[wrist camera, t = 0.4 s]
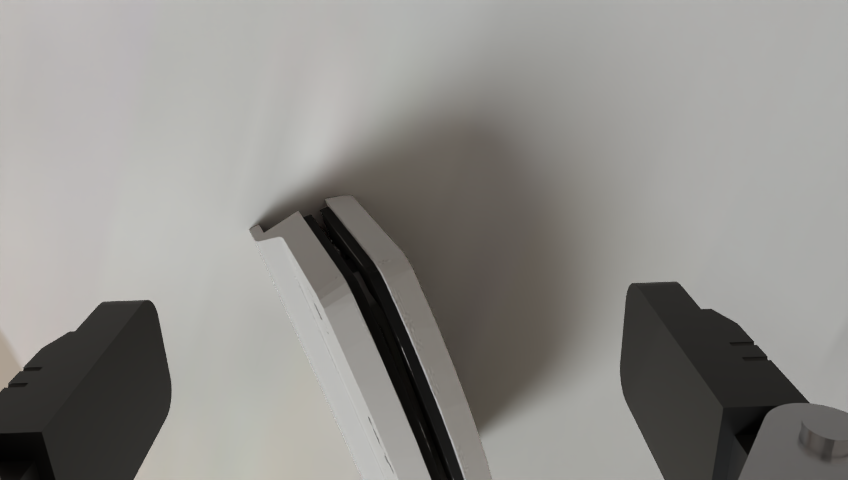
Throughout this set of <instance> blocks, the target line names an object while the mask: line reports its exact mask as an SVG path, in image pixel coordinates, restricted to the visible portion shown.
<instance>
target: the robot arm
mask: <svg viewBox="0 0 848 480" xmlns="http://www.w3.org/2000/svg"><path fill="white" fill-rule="evenodd" d="M620 377H621V385H622V390H623V394H624V397H625V400H626V403H627V405H628V407H629V409H630V411H631V413H632V415H633V417H634V419H635V421H636V423H637V425H638V427H639V429H640V431H641V433H642V435H643V437H644V439H645V441H646V443H647V445H648V447H649V449H650V451H651V453H652V455H653V457H654V459H655V461H656V463H657V465H658V467H659V469H660V471H661V473H662V475H663V477H664V479H665V480H848V413H847V412H844V411H841V410H838V409H835V408H832V407H828V406H824V405H818V404H810V403H809V402H808V401H807V400H806V398H805V397H804V396H803V395H802V394H801V393H800V392H799V391H798V390H797V389H796V387H795V386H794V385H793V384H792V383H791V382H790V381H789V380H788V379H787V378H786V376H785V375H784V374H783V373H782V372H781V371H780V370H779V369H778V368H777V367H776V365H775V364H774V363H773V362H772V361H771V360H768V359H767V356H766V354H765V353H764V352H763V351H762V350H761V349H760V348H759V347H758V346H757V345H754V341H753V340H752V339H751V338H750V337H749V336H748V335H747V334H746V332H745V331H744V330H743V329H742V328H741V327H740V326H739V325H738V324H737V323H735V322H734V321H732V320H730V319H728V318H726V317H725V316H723V315H721V314H719V313H718V312H716V311H714V310H712V309H700V307H699V306H698V305H697V304H696V303H695V301H694V300H693V299H692V298H691V297H690V296H689V294H688V293H687V292H686V291H685V290H684V288H683V287H682V286H681V285H680V284H679V283H678V282H654V283H632V284H631V285H630V286H629V288H628V291H627V295H626V304H625V316H624V327H623V338H622V349H621V361H620ZM170 403H171V379H170V373H169V368H168V363H167V358H166V353H165V348H164V343H163V338H162V333H161V328H160V323H159V318H158V314H157V310H156V308H155V306H154V304H153V303H152V302H151V301H149V300H138V301H111V302H102V303H101V304H100V305H98V307H97V308H96V309H95V310H94V311H93V312H92V313H91V314H90V315H89V317H88V318H87V319H86V320H85V321H84V322H83V323H82V324H81V325H80V326H79V328H78V329H77V330H76V331H74V332H68V333H67V334H65V335H63V336H62V337H60V338H58V339H57V340H55V341H53V342H52V343H50V344H48V345H47V346H45V347H43V348H42V349H41V350H40V351H39V352H38V353H37V354H36V355H35V356H34V357H33V358H32V359H31V360H30V361H29V362H28V363H27V364H26V365H25V367H24V370H23V371H20V372H19V373H18V374H17V375H16V376H15V377H14V378H13V379H12V380H11V381H10V382H9V384H8V388H4V389H3V390H2V391H1V392H0V480H134V478H135V476H136V474H137V472H138V470H139V468H140V466H141V465H142V463H143V461H144V459H145V457H146V455H147V453H148V451H149V450H150V448H151V446H152V444H153V442H154V440H155V438H156V436H157V435H158V433H159V431H160V429H161V427H162V425H163V423H164V421H165V419H166V417H167V415H168V412H169V408H170Z"/></svg>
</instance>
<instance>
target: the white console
mask: <svg viewBox="0 0 848 480" xmlns="http://www.w3.org/2000/svg"><path fill="white" fill-rule="evenodd" d="M325 200H326V203H327V206H328V207H327V208H325V209H322V210H320V211H321V213H322V216H323V218H324V221H325V223H326V226H327V228H328V231H329V233H330V236H331V238H332V241H333V243H334V244H335V246H333V245H332V243H331V242H330V241H329V239H328V238H327V236H326V235H325V234H324V232H323V231H322V229H321V228H320V227H319V225H318V224H317V222H316V221H315V220H314V218H313V217H312V215H309V216H306V217H304V218H303V217H302V216H301V214H300V213H299V211H297V212H295V213H294V214H292V215H291V216H289V217H288V218H286V219H285V220H283V221H281V222H280V223H278V224H277V225H275V226H274V227H272V228H271V229H269V230H268V231H266V232H265V233H264V232H263V231H262V229H261V227H260V226H259V224H258V225H256V226H254V227H252V228H251V229H249V230H250V233H251V235H252V237H253V239H254V241H255V244H256V246H257V248H258V250H259V253H260V255H261V257H262V259H263V261H264V264H265V266H266V268H267V270H268V272H269V275H270V277H271V279H272V281H273V283H274V286H275V288H276V290H277V292H278V294H279V297H280V299H281V301H282V303H283V306H284V308H285V310H286V312H287V314H288V317H289V319H290V321H291V323H292V325H293V328H294V330H295V332H296V334H297V336H298V339H299V341H300V343H301V345H302V348H303V350H304V352H305V354H306V356H307V359H308V361H309V363H310V365H311V367H312V370H313V372H314V374H315V376H316V378H317V381H318V383H319V385H320V387H321V389H322V392H323V394H324V396H325V398H326V401H327V403H328V405H329V407H330V409H331V412H332V414H333V416H334V418H335V420H336V423H337V425H338V427H339V429H340V431H341V434H342V436H343V438H344V440H345V443H346V445H347V447H348V449H349V451H350V454H351V456H352V458H353V460H354V462H355V465H356V467H357V469H358V471H359V473H360V476H361V478H362V480H492V477H491V474H490V470H489V466H488V462H487V459H486V456H485V453H484V450H483V447H482V443H481V440H480V437H479V434H478V431H477V428H476V425H475V422H474V419H473V416H472V413H471V411H470V408H469V405H468V402H467V399H466V397H465V394H464V391H463V389H462V386H461V384H460V381H459V378H458V376H457V373H456V371H455V368H454V365H453V363H452V360H451V358H450V355H449V353H448V350H447V348H446V345H445V343H444V340H443V338H442V335H441V333H440V330H439V328H438V326H437V323H436V321H435V319H434V316H433V314H432V312H431V309H430V307H429V305H428V303H427V300H426V298H425V296H424V293H423V291H422V289H421V286H420V284H419V282H418V280H417V277H416V275H415V273H414V270H413V268H412V267H411V265H410V263H409V261H408V259H407V258H406V256H405V255H404V253H403V252H402V251H401V250H400V249H399V247H398V246H397V245H396V244H395V243H394V242H393V241H392V240H391V238H390V237H389V236H388V235H387V234H386V233H385V232H384V231H383V230H382V228H381V227H380V226H379V225H378V224H377V223H376V222H375V221H374V219H373V218H372V217H371V216H370V215H369V214H368V213H367V212H366V211H365V209H364V208H363V207H362V206H361V205H360V204H359V203H358V202H357V200H356V199H355V198H354V197H353V196H352V195H345V196H338V197H333V198H328V199H325ZM378 324H379V325H380V327H381V330H382V332H381V330H380V328H379V326H378ZM382 333H383V335H384V337H383V335H382ZM384 338H385V339H384ZM385 340H386V342H385ZM386 343H387V344H386ZM388 348H389V349H388Z"/></svg>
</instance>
